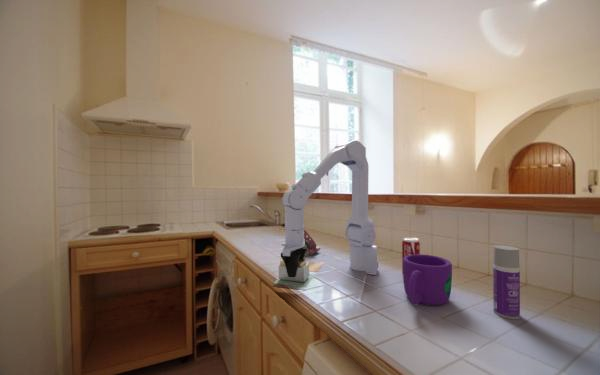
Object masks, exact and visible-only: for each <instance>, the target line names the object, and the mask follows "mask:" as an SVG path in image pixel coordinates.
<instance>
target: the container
mask: <svg viewBox="0 0 600 375" xmlns="http://www.w3.org/2000/svg"><path fill="white" fill-rule="evenodd" d="M492 259H493V260H492V261H493V264H492V265H493V266H492V279H493V280H492V287H493V288H492V290H493V291H492V292H493V293H492V294H493V295H492V296H493V298H492V302H493V304H492V305H493V310H492V311H493V313H494V314H495V315H497V316H499V317H502V318H505V319H510V320H519V319H520V318H521V275H520V272H521V269H520V264H521V263H520V249H519V248H518V247H515V246H510V245H502V244H501V245H500V244H499V245H498V244H497V245H493V258H492Z"/></svg>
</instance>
